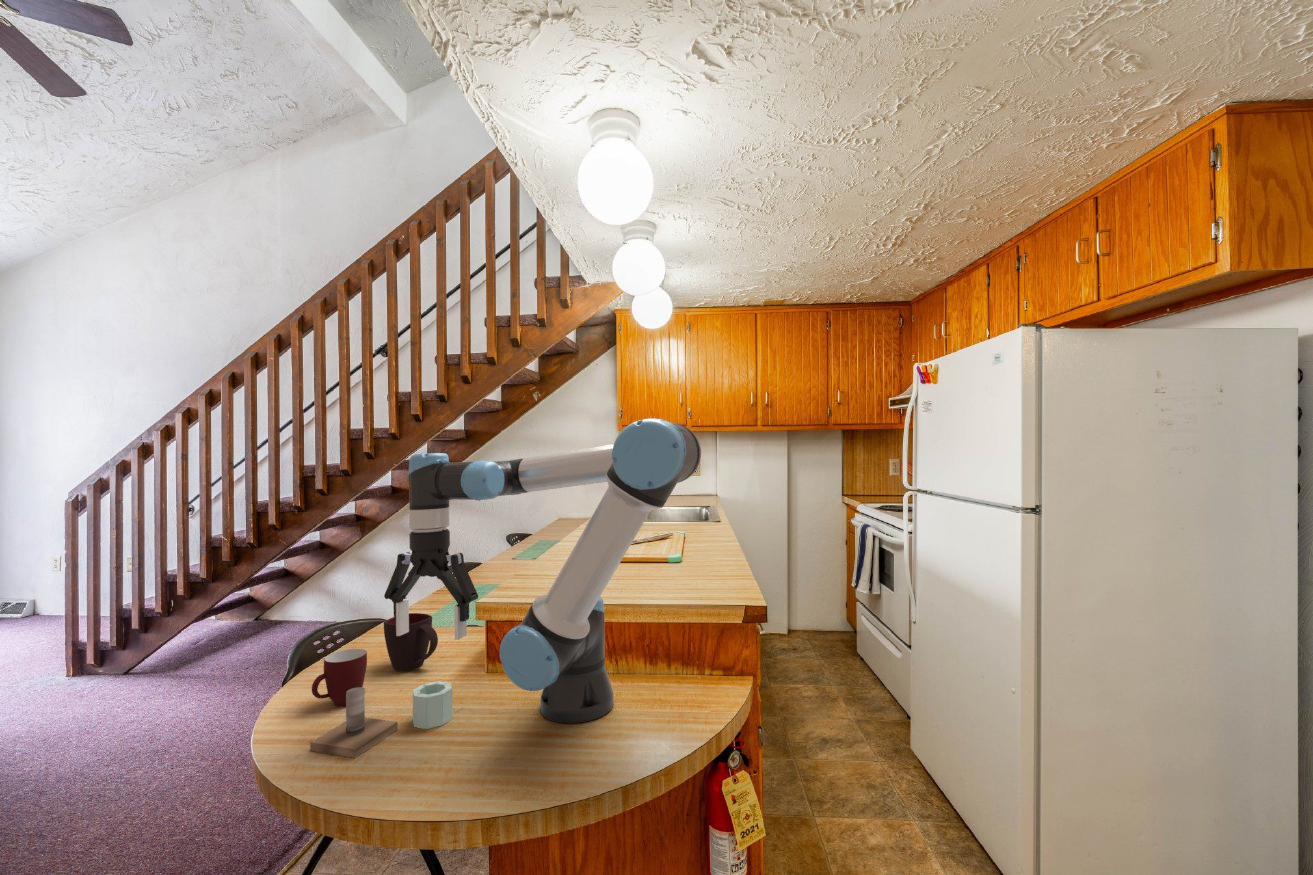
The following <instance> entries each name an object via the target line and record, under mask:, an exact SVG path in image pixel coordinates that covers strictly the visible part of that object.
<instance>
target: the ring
mask: <svg viewBox="0 0 1313 875" xmlns="http://www.w3.org/2000/svg"><path fill="white" fill-rule="evenodd" d="M452 719H453V687H452V683H451V682H447V681H438V680H437V681H433V682H429V683H428V682H427V683H423V684H421V685H420V686H418V687H416V688H414V689H413V690H412V723H413V724H412V725H413V727H414V728H415V727H417V728H416V729H423V730H428V729H433V728H437V727H440V726H444V725H445V724H446V723H448V722H449V721H451V720H452Z"/></svg>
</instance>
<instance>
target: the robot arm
mask: <svg viewBox="0 0 1313 875" xmlns="http://www.w3.org/2000/svg"><path fill="white" fill-rule="evenodd" d="M701 448H702V447H701V444H700V441H699V439H698V438H697V435H696V434H695V433H694V432H693V431H692V430H691V429H690V428H688V427H687V426H686V425H684V424H683V425H682V424H681V423H676V422H671V421H667V420H665V419H662V418H653V417H652V418H651V417H650V418H643V419H640V420H637V421H634V422H632V423H630V424H628V425H627V426H625V427H624V428H623V429H622V430H621V431H620V433H619V434H618V435H617V437H616V438H615V440H614V443H611V444H605V445H599V446H594V447H586V448H581V449H573V450H568V451H562V452H561V451H560V452H556V453H549V454H544V455H542V454H541V455H536V456H531V457H530V456H529V457H524V458H517V459H511V460H501V461H499V460H498V461H494V460H493V461H489V460H474V461H459V462H457V461H456V462H450V460H449V455H448V454H447V453H444V452H443V453H442V452H441V453H440V452H436V453H434V452H431V453H430V452H429V453H415V454H413V455H411V456H410V457H409V462H408V473H407V477H408V489H409V490H408V496H409V497H408V501H409V502H408V503H409V506H408V507H409V509H408V510H409V511H408V513H409V514H408V515H409V516H408V526H409V527H408V528H409V529H410V533H409V534H408V535H409V549H410V551H411V552H410V551H407V552H402V553H399V554H397V557H396V558H397V560H396V566H395V568H394V570H393V573H392V576H391V578H390V581H389V583H388V585H387V586H386V587H387V588H386V590H385V593H384V595H383V596H384V599H386V600H391V601H392V603H393V617H394V618H396V636H401V635H403V634H405V633H407V632H409V612H410V610H409V609H410V608H409V607H410V606H409V604H410V603H409V599H407V598H408V597H407V596H408V595H409V593H410V592H411V591H412V589H413V587H414V586H415V585H416V583H417V582H418V581H419V579H421V577H422V578H423V577H430V578H435V577H436V578H437V579H438V580H440V581H441V582H442V584H443V585H444V587H445V588H446V589H447V591H448V592H449V593H450V594H451V596H452V598H453V599H454V600H455V602H456V603H457V604H456V605H454V607H453V608H454V609H453V610H454V612H453V614H454V615H453V616H454V617H453V618H454V619H453V620H454V640H455V641H458V640H461V639H462V638H464V637H466V636H467V621H469V619H470V603H471V602H472V603H473V601H476V600H478V599H479V594H478V592H477V590H476V587H475V585H474V583H473V581H472V578H471V576H470V573H469V571H468V569H467V567H466V564H465V562H464V558H465V557H464V553H462V552H458V553H454V554H450V553H449V548H450V545H451V536H450V535H451V532H450V529H448V527H449V526H450V501H451V500H452V501H453V500H456V501H457V500H459V501H461V500H462V501H463V500H464V501H465V500H466V501H468V500H474V501H486V500H493V499H496V498H498V497H501V496H502V497H503V496H515V495H521V494H526V493H527V494H528V493H532V492H533V493H534V492H542V491H548V490H554V489H555V490H556V489H561V488H564V489H565V488H571V487H578V486H587V485H592V484H599V483H600V484H602V483H607V485H608V487H607V489H606V491H605V492H604V495H603V496H602V498H601V500H600V501H599V503H598V505H597V507H596V508H595V510H594V512H593V513H592V515H591V517H590V518H589V520H588V522H587V524H586V525H585V528H584V530H583V531H582V532H581V534H580V537H579V538H578V540H577V541H576V543H575V546H574V547H573V549H572V550H571V551H570V554H569V556H568V557H567V559H566V561H565V563H564V564H563V566H562V567H561V569H560V571H559V573H558V575H557V577H556V578H555V580H554V581H553V582H552V583H553V584H552V585H551V587H550V588H549V591H548V592H547V594H544V595H539V596H537V597H536V598H535V599H534V601H533V602H532V604H531V605H530V607H529V609H528V611H527V612H526V614H525V616H524V617H523V620H522V621H521V622H520V623H519V625H516V626H514V627H512V628H511V629H509V631H508V632H507V633H506V634H505V635H504V636H503V638H502V640H501V642H500V646H499V661H500V662H501V663H502V666H501V667H502V670H503V672H504V673H505V675H506V676H507V678H508V680H510V682H511V683H512V684H514V685H515V686H516V687H518V688H519V689H521V690H523V691H529V692H537V691H542V692H541V694H540V699H539V700H540V701H539V703H540V704H539V706H540V707H539V708H540V714H541V715H542V716H543V717H545V718H546V719H548V720H550V721H552V722H556V723H563V724H578V723H585V722H591V721H594V720H596V719H599V718H601V717H604V716H605V715H606V714H608V713H609V712H610V711H611V710H612V709H613V707H614V702H615V701H614V697H615V696H614V689H613V687H612V684H611V680H610V678H609V674H608V671H607V669H606V665H605V664H606V662H605V660H606V658H605V655H606V654H605V652H606V651H605V649H606V648H605V646H606V645H605V639H606V638H605V614H606V612H605V607H604V606H605V604H604V599H603V598H602V597H601V596H602V595H603V593H604V591H605V589H606V588H607V586H608V584H609V583H610V581H611V579H612V578H613V576H614V574H615V572H616V571H617V569H618V567H619V565H620V564H621V562H622V560H623V558H624V557H625V556H626V554H627V551H628V550H629V548H630V547H631V545H632V543H633V542H634V541H635V538H636V536H637V535H638V533H639V531H640V530H641V528H642V526H643V524H644V523H645V522H646V519H647V518H648V516H649V514H650V513H651V512H653V511H654V510H656V511H657V510H660V509H663V508H664V506H665V505H666V503H667V501H668V499H669V497H670V496H671V494H672V493H673V491H674V489H675V487H676V485H677V484H678V483H681V482H685V481H686V480H688V479H689V478H690V477H691V476H693V475H694V473H695V472H696V471H697V470H698V467H699V465H700V463H701V458H702V449H701ZM411 530H412V531H411ZM410 564H411V565H412V567H411V568H410ZM449 565H450V566H449ZM409 568H410V570H409ZM408 570H409V571H408ZM406 575H407V576H406ZM405 577H406V578H405Z"/></svg>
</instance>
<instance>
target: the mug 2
mask: <svg viewBox="0 0 1313 875" xmlns="http://www.w3.org/2000/svg"><path fill="white" fill-rule="evenodd" d="M383 633H384V641H385V645H386V650H387V655H388V658H389V661H390V664H391V667H392V669H393V670H394V671H396V672H401V673H408V672H412V671H414V670H418V669H419V668H421V667H422V666H423V665H424V664H425V661H426V660H427V659H429V658H430V657H431V656H432V655H433V653H434V652H435V651H436V649H437V646H438V642H439V637H438V634H437V631H436V630H435V628H434V627H433V616H432V615H431V614H428V613H421V612H420V613H418V612H416V613H415V612H411V613H409V632H407V633H405V634H403V635H401V636H396V618H394V616H393V617H391V618H388V619H386V620H385V621H383Z"/></svg>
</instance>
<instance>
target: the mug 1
mask: <svg viewBox="0 0 1313 875" xmlns="http://www.w3.org/2000/svg"><path fill="white" fill-rule="evenodd" d="M367 656H368V651H367V650H365V649H362V648H352V649H351V648H350V649H344V650H340V651H335V652H332V653H331V654H328V655H327V656H325V657H324V658H323V673H322V674H319V675H318V676H317V677H316V678H315V679H314V681H313V682H312V685H311V692H312V696H314V697H315V698H317V699H328V698H329V699H330V700H331V701H332V703H333V705H335V706H336V707H346V692H347V691H348V690H350V689H352V688H357V687H363V686H364V682H365V678H366V677H365V675H366V672H367V671H366V670H367V665H368V657H367ZM323 680H324V681H325V686H326V691H327V692H326V693H325V694H320V692H319V685H320V683H321V682H322V681H323ZM363 688H364V687H363Z"/></svg>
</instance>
